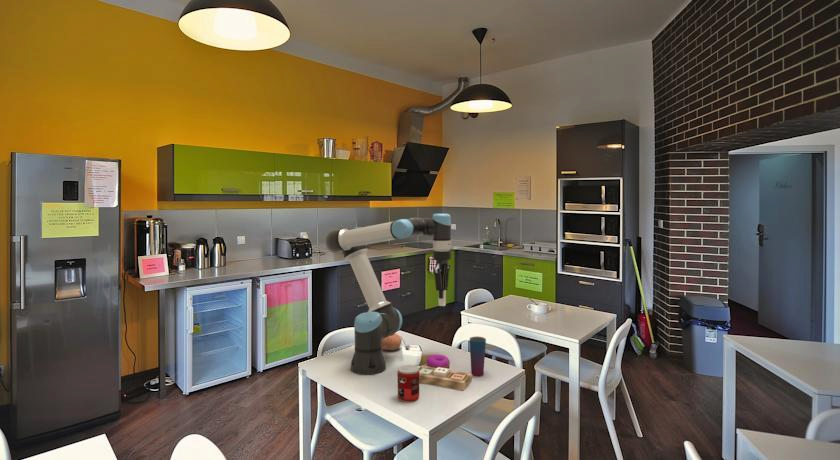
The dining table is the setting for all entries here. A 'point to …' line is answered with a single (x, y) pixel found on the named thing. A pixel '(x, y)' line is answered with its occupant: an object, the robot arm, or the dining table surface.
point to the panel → (445, 379)
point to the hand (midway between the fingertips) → (442, 305)
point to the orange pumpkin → (391, 342)
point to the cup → (477, 355)
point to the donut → (438, 361)
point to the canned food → (408, 383)
